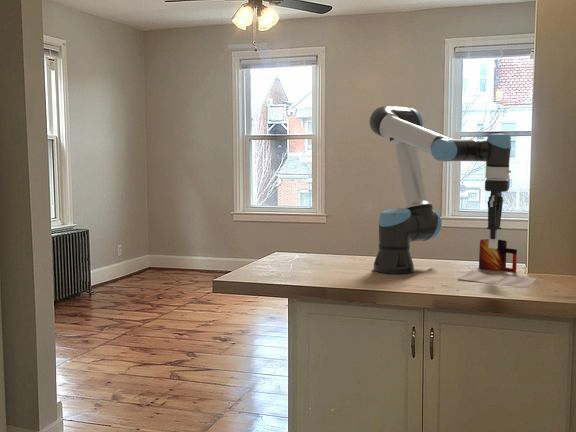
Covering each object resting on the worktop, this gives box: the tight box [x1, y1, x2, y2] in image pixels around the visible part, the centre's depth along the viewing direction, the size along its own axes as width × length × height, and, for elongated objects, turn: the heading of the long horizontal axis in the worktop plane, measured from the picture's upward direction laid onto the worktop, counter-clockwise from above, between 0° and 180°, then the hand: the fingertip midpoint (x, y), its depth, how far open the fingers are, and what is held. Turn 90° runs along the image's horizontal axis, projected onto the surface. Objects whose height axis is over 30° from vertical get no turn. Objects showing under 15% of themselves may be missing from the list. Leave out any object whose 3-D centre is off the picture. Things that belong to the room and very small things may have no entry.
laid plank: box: [495, 274, 537, 289], centre depth 205 cm, size 10×18×1 cm, turn 149°
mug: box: [478, 238, 518, 273], centre depth 228 cm, size 10×14×12 cm
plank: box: [457, 270, 507, 285], centre depth 211 cm, size 12×18×1 cm, turn 149°
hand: (492, 248), depth 208 cm, fingers closed
